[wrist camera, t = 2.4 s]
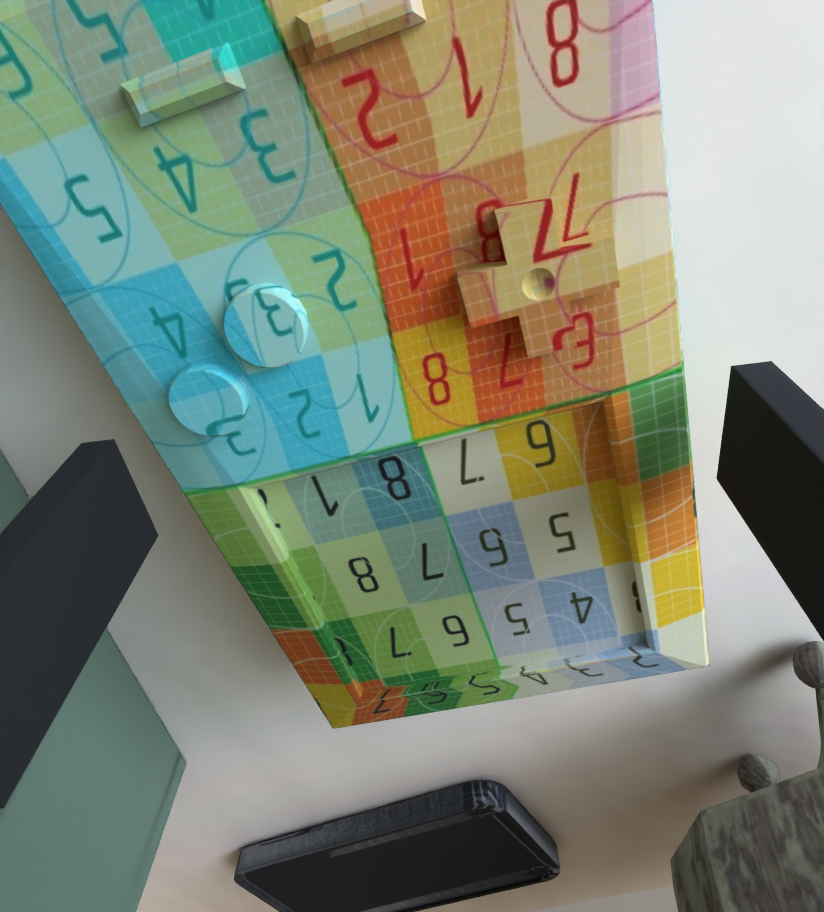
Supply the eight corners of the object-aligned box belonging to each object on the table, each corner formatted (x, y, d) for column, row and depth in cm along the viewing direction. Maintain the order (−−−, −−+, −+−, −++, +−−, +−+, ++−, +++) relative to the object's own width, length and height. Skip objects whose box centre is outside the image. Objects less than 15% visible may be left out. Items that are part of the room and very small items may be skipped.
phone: (568, 876, 31) (314, 935, 35) (564, 851, 32) (317, 912, 36) (494, 798, 27) (222, 875, 31) (492, 772, 28) (228, 851, 32)
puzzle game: (645, -373, 7) (722, 693, 18) (570, -228, 11) (669, 574, 22) (-163, 2, 9) (328, 755, 20) (12, 12, 13) (345, 636, 24)
